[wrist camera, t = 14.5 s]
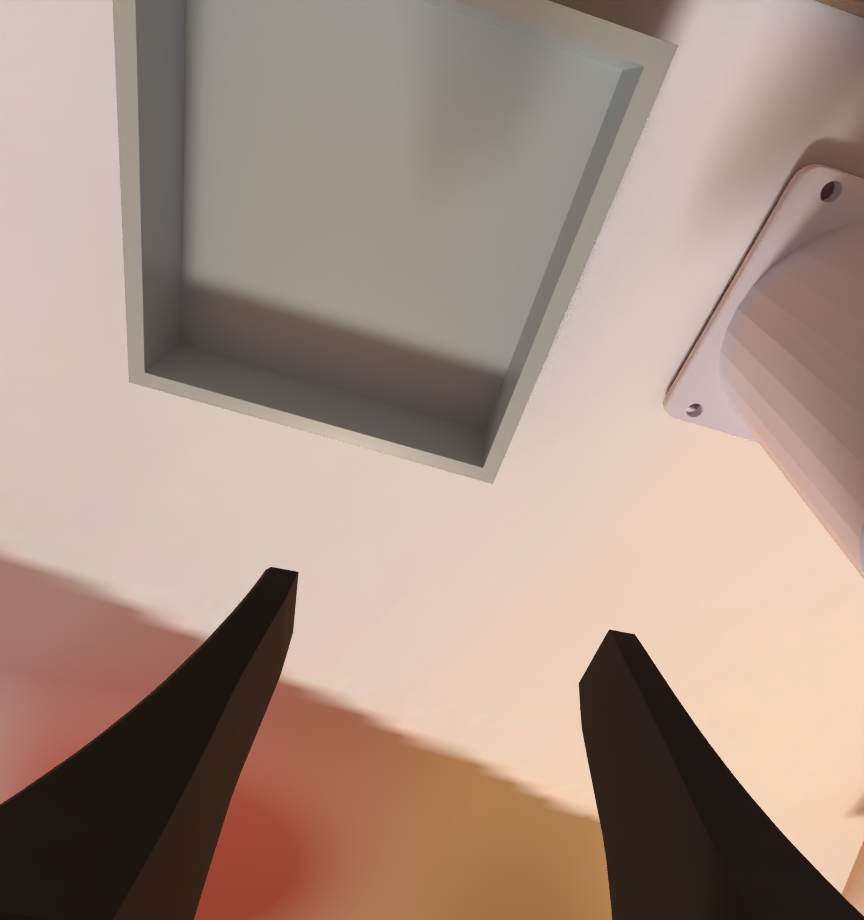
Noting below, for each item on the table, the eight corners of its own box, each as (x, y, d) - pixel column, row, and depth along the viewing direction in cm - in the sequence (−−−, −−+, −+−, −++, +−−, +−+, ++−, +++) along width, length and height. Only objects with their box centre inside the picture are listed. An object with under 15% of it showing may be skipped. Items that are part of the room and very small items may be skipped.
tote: (645, 54, 14) (677, 45, 12) (492, 437, 21) (492, 483, 18) (178, -107, 13) (106, -155, 11) (174, 346, 20) (129, 382, 17)
